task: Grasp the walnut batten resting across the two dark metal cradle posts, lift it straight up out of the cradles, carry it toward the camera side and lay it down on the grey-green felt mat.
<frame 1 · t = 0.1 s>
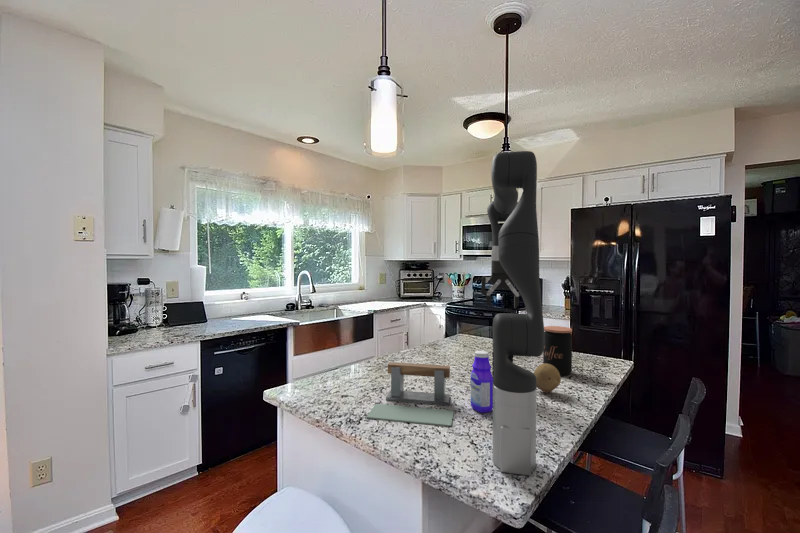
hand: (502, 307, 126), 29 cm above the countertop, fingers open, 8 cm apart
handle grip: (502, 394, 125), on the countertop
bottle: (481, 409, 112), on the countertop
rail: (418, 374, 120), point 8 cm above the countertop, touching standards
coffee jar: (557, 373, 150), on the countertop
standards: (418, 398, 120), on the countertop
mat: (411, 415, 108), on the countertop
tan round lump: (546, 393, 127), on the countertop
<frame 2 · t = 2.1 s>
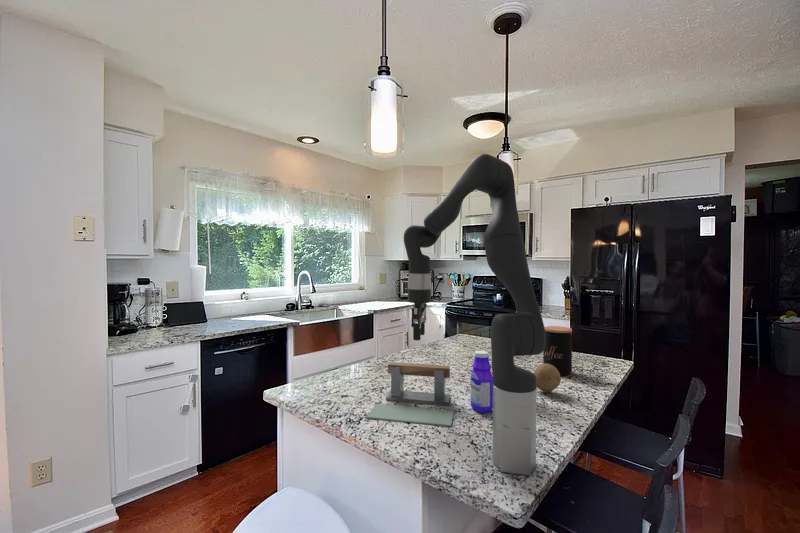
hand: (419, 337, 120), 20 cm above the countertop, fingers open, 8 cm apart
nothing on the countertop moved.
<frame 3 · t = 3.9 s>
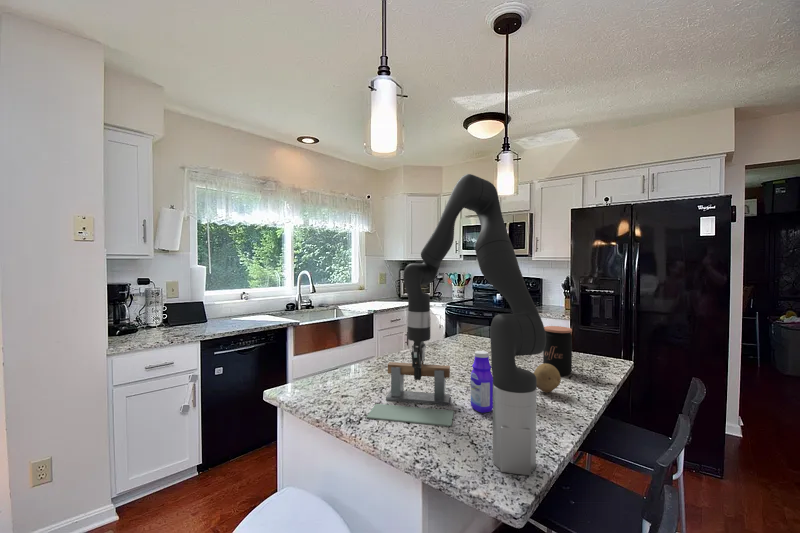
hand: (418, 377, 120), 7 cm above the countertop, fingers closed on rail, 3 cm apart
rail: (418, 374, 120), point 8 cm above the countertop, touching gripper, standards
everything else where it was.
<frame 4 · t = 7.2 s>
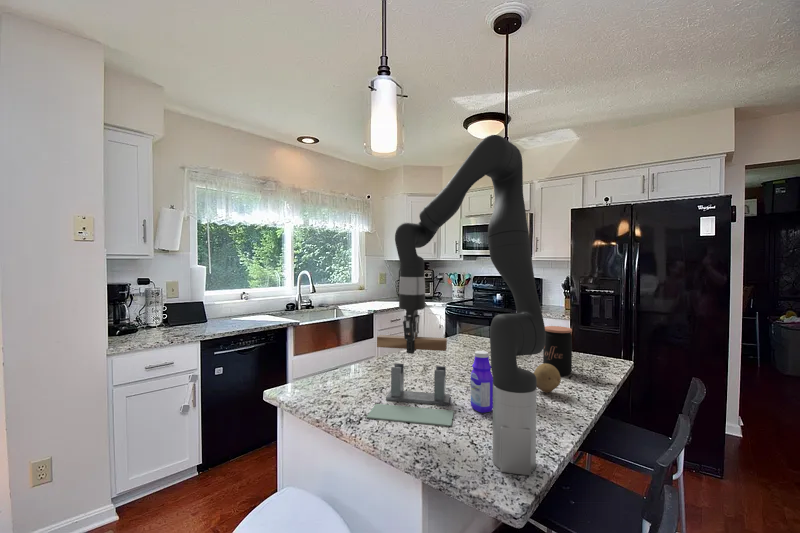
hand: (411, 351, 107), 19 cm above the countertop, fingers closed on rail, 3 cm apart
rail: (411, 347, 107), point 20 cm above the countertop, touching gripper
everything else where it was.
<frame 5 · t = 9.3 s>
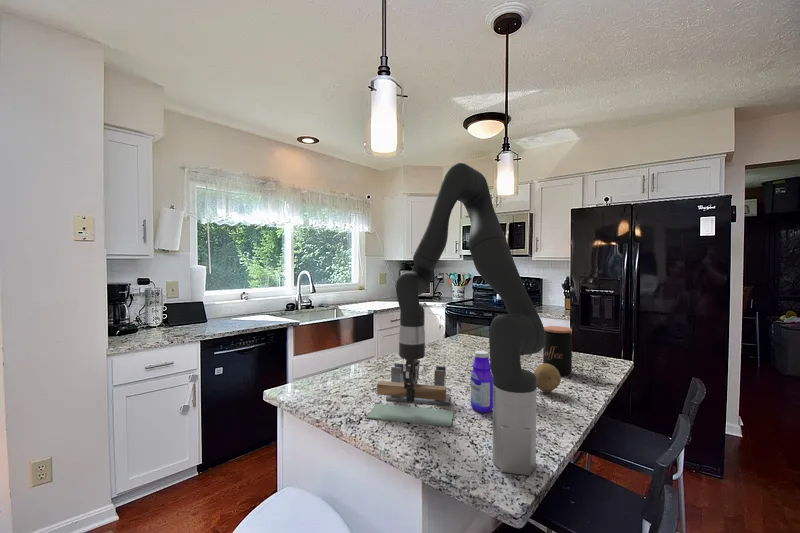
hand: (411, 399, 108), 5 cm above the countertop, fingers closed on rail, 3 cm apart
rail: (411, 395, 108), point 6 cm above the countertop, touching gripper
everything else where it was.
when the fingers open (2 cm above the countertop, at t = 10.7 s): rail drops 3 cm, resting on mat.
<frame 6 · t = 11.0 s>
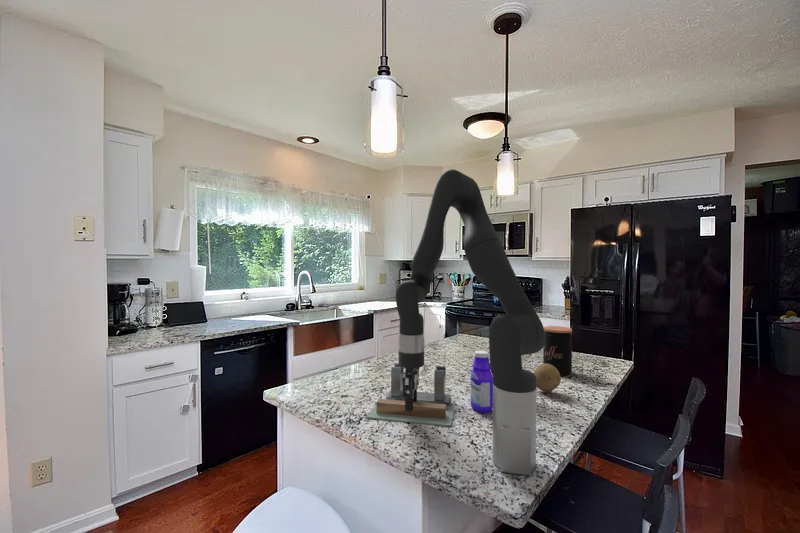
hand: (411, 406, 108), 3 cm above the countertop, fingers open, 6 cm apart
rail: (410, 413, 108), resting on mat
everything else where it was.
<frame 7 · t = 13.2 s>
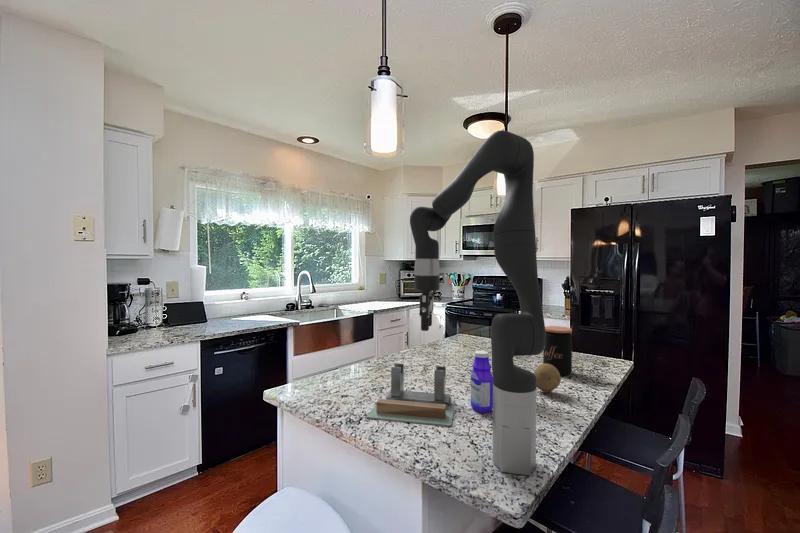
hand: (426, 328, 111), 25 cm above the countertop, fingers open, 8 cm apart
nothing on the countertop moved.
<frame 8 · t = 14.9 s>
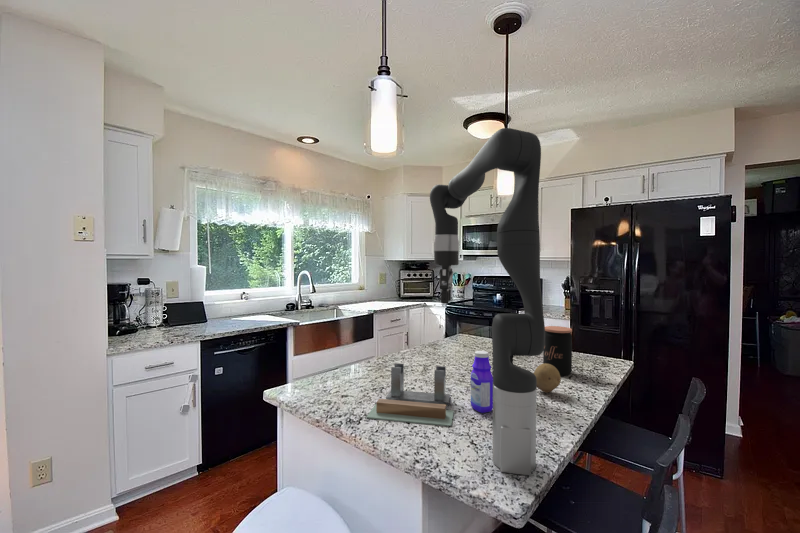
hand: (446, 302, 115), 32 cm above the countertop, fingers open, 8 cm apart
nothing on the countertop moved.
at the end: rail inside the target area (0.1 cm from its centre), resting on mat; rail touching mat; the gripper is holding nothing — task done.
